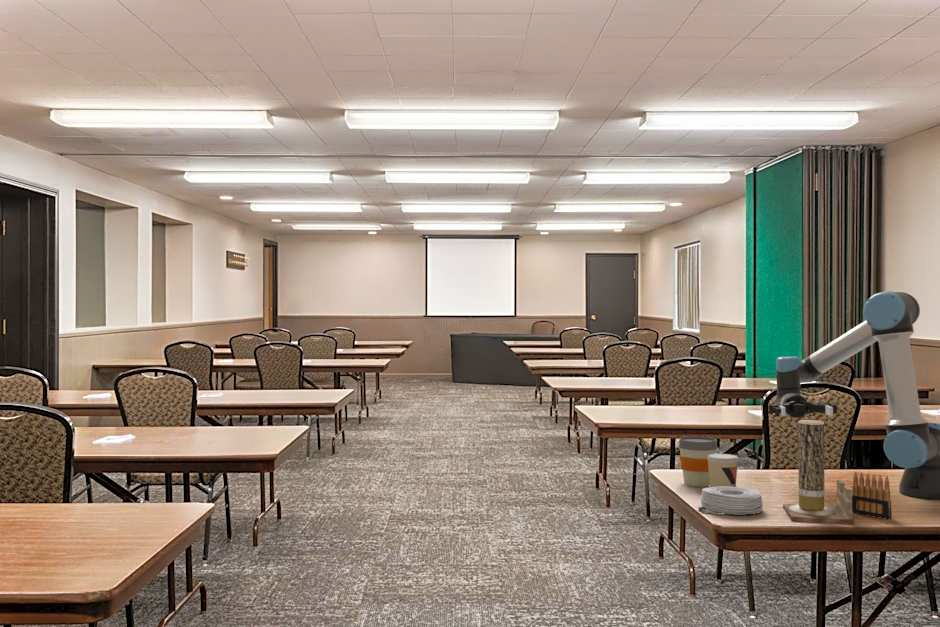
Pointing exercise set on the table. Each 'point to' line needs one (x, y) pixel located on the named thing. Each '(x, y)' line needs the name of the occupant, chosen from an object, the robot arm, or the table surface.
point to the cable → (730, 500)
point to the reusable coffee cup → (696, 459)
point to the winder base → (826, 509)
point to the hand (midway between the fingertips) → (807, 411)
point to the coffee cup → (722, 470)
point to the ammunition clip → (871, 497)
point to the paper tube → (811, 465)
